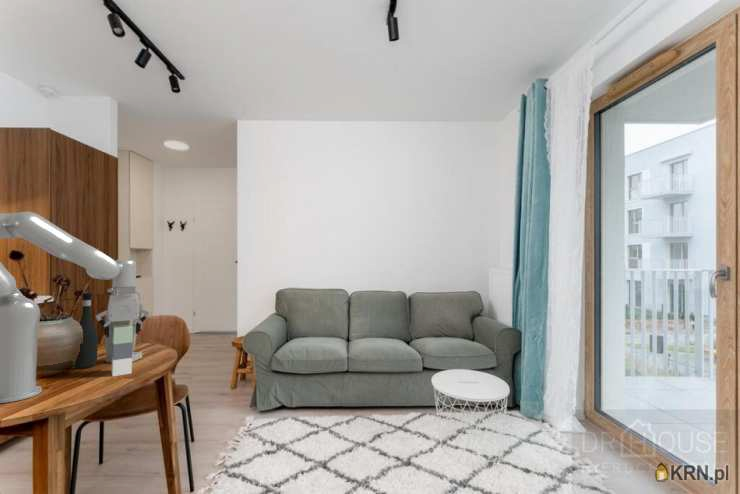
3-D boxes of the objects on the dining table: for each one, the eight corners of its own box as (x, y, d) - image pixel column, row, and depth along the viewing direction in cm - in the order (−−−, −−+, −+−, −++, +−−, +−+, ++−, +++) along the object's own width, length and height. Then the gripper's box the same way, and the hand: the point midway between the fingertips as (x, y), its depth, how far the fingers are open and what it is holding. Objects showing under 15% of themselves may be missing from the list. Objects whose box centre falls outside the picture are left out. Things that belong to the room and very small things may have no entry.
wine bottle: (77, 364, 152) (80, 292, 152) (100, 363, 154) (102, 291, 155) (68, 370, 144) (70, 294, 145) (92, 368, 146) (94, 293, 147)
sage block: (113, 344, 138) (114, 328, 138) (112, 341, 143) (112, 326, 143) (132, 342, 142) (132, 326, 142) (130, 339, 146) (130, 324, 147)
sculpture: (148, 358, 162) (150, 290, 163) (134, 363, 154) (136, 292, 155) (117, 357, 163) (119, 289, 164) (101, 362, 155) (104, 291, 156)
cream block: (112, 376, 138) (113, 360, 138) (111, 372, 142) (111, 356, 142) (131, 373, 141) (132, 357, 142) (129, 369, 146) (130, 354, 146)
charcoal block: (113, 360, 138) (113, 344, 138) (112, 356, 143) (112, 341, 143) (132, 357, 142) (132, 342, 142) (130, 354, 146) (130, 339, 146)
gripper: (96, 293, 134) (95, 339, 134) (151, 290, 145) (149, 334, 145) (96, 291, 140) (94, 336, 140) (148, 289, 151) (146, 331, 151)
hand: (122, 335), depth 142 cm, fingers open, 9 cm apart
